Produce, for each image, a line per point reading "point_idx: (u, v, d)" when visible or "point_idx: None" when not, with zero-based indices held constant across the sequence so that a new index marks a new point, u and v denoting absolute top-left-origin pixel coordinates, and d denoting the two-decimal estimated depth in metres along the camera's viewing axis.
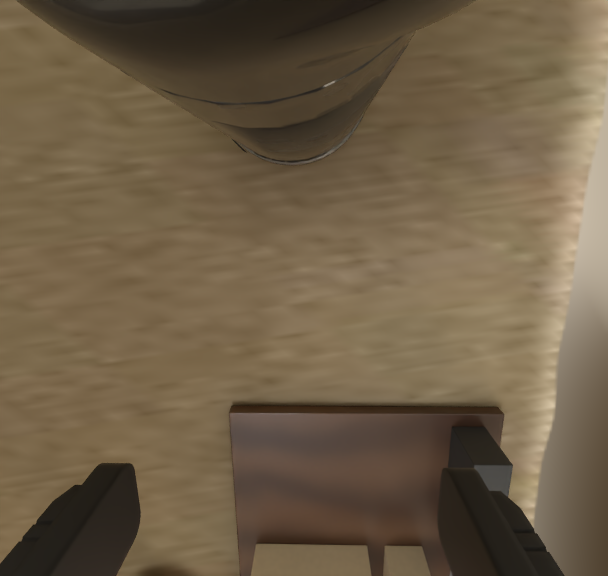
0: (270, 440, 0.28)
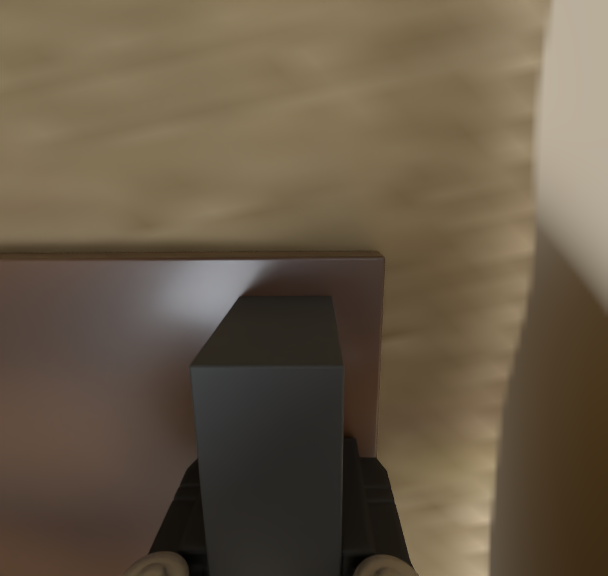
0: None
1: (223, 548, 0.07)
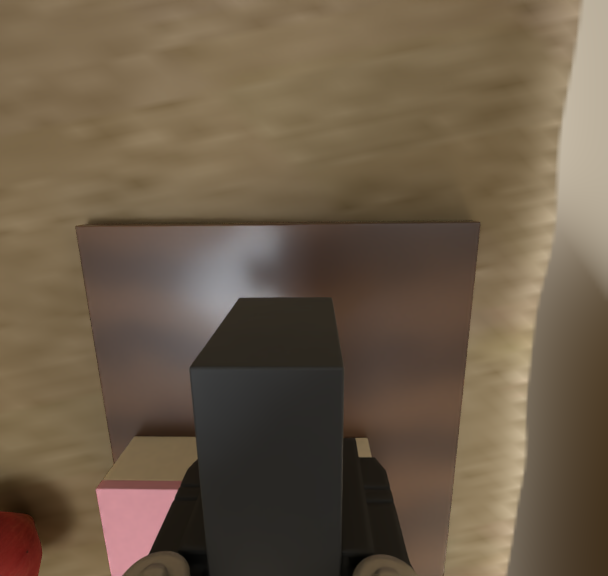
0: (139, 271, 0.19)
1: (223, 549, 0.07)
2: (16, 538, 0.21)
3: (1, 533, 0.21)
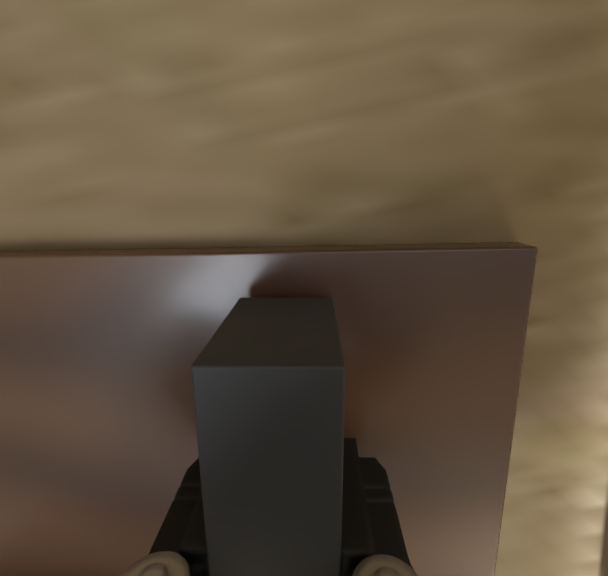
0: None
1: (223, 548, 0.07)
2: None
3: None
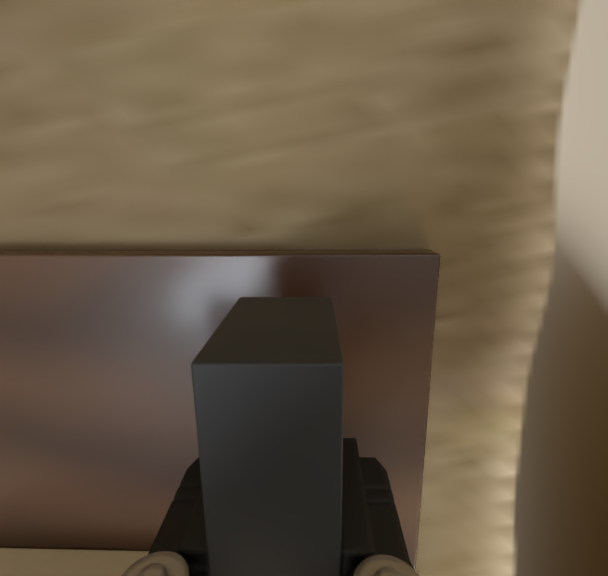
0: None
1: (223, 546, 0.07)
2: None
3: None
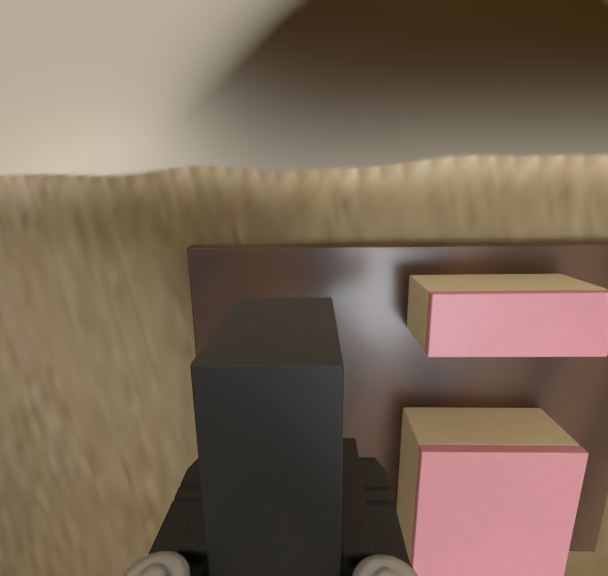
0: None
1: (223, 547, 0.07)
2: None
3: None
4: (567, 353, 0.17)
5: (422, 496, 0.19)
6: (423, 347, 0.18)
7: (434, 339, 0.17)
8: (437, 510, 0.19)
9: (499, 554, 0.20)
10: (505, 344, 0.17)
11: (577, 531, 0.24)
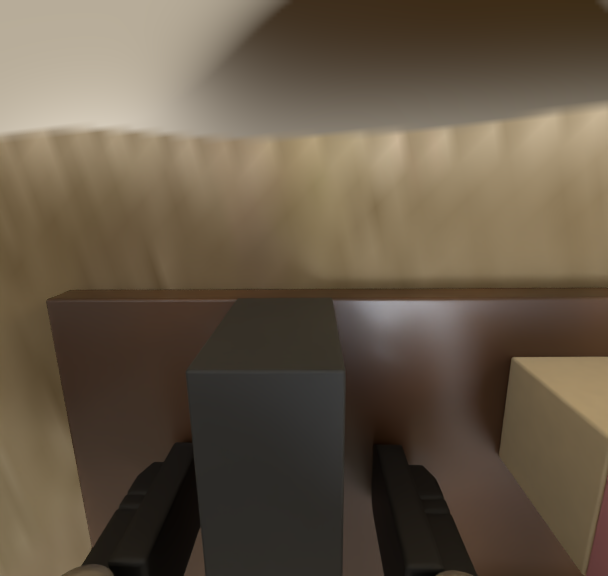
0: None
1: (221, 558, 0.06)
2: None
3: None
4: None
5: None
6: (579, 562, 0.07)
7: None
8: None
9: None
10: None
11: None
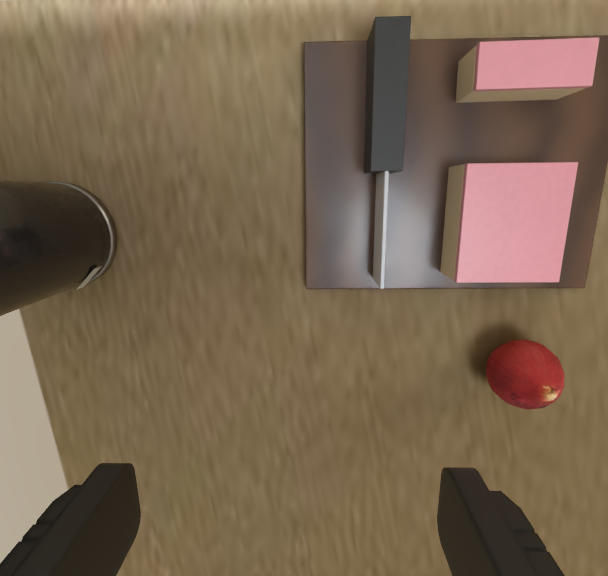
0: (331, 256, 0.34)
1: (378, 74, 0.26)
2: (501, 347, 0.33)
3: (495, 354, 0.33)
4: (566, 83, 0.26)
5: (466, 199, 0.28)
6: (472, 89, 0.27)
7: (480, 75, 0.26)
8: (476, 210, 0.28)
9: (518, 246, 0.29)
10: (526, 78, 0.26)
11: (572, 270, 0.33)
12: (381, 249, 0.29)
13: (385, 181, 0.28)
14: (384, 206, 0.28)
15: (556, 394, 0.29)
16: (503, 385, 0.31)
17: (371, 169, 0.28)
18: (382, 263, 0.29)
